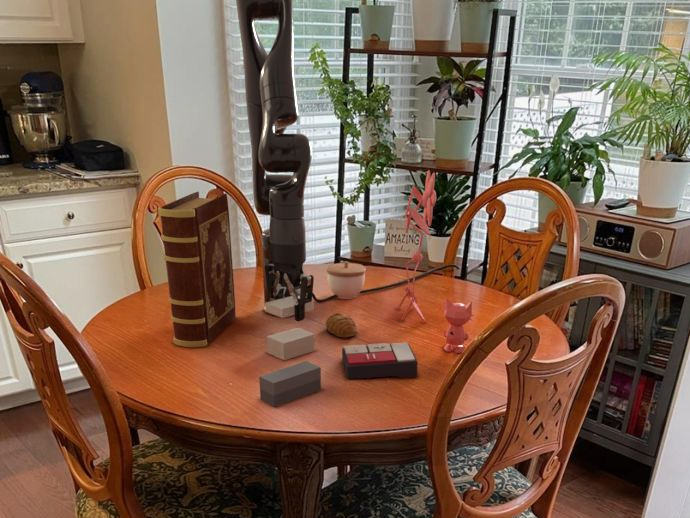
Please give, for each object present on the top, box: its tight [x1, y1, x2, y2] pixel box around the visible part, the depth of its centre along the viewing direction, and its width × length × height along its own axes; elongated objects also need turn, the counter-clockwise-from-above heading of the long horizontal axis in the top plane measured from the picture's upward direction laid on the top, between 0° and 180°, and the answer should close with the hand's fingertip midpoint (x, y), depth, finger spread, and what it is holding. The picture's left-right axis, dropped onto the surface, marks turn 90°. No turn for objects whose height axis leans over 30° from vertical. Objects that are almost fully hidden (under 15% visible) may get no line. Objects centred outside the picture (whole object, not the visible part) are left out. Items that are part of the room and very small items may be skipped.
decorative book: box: [157, 191, 236, 349], centre depth 164 cm, size 22×8×30 cm, turn 168°
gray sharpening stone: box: [258, 360, 322, 408], centre depth 141 cm, size 12×4×5 cm, turn 135°
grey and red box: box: [341, 342, 418, 380], centre depth 154 cm, size 11×4×15 cm
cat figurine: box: [443, 298, 474, 354], centre depth 162 cm, size 7×7×12 cm
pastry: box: [325, 312, 358, 338], centre depth 173 cm, size 9×7×4 cm
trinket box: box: [326, 261, 367, 300], centre depth 197 cm, size 11×11×9 cm
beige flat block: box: [264, 296, 315, 319], centre depth 156 cm, size 9×6×2 cm, turn 134°
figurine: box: [396, 169, 444, 329], centre depth 177 cm, size 15×26×35 cm, turn 2°
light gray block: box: [266, 327, 316, 361], centre depth 161 cm, size 9×6×4 cm, turn 134°
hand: (289, 316), depth 158 cm, fingers closed on beige flat block, 6 cm apart
